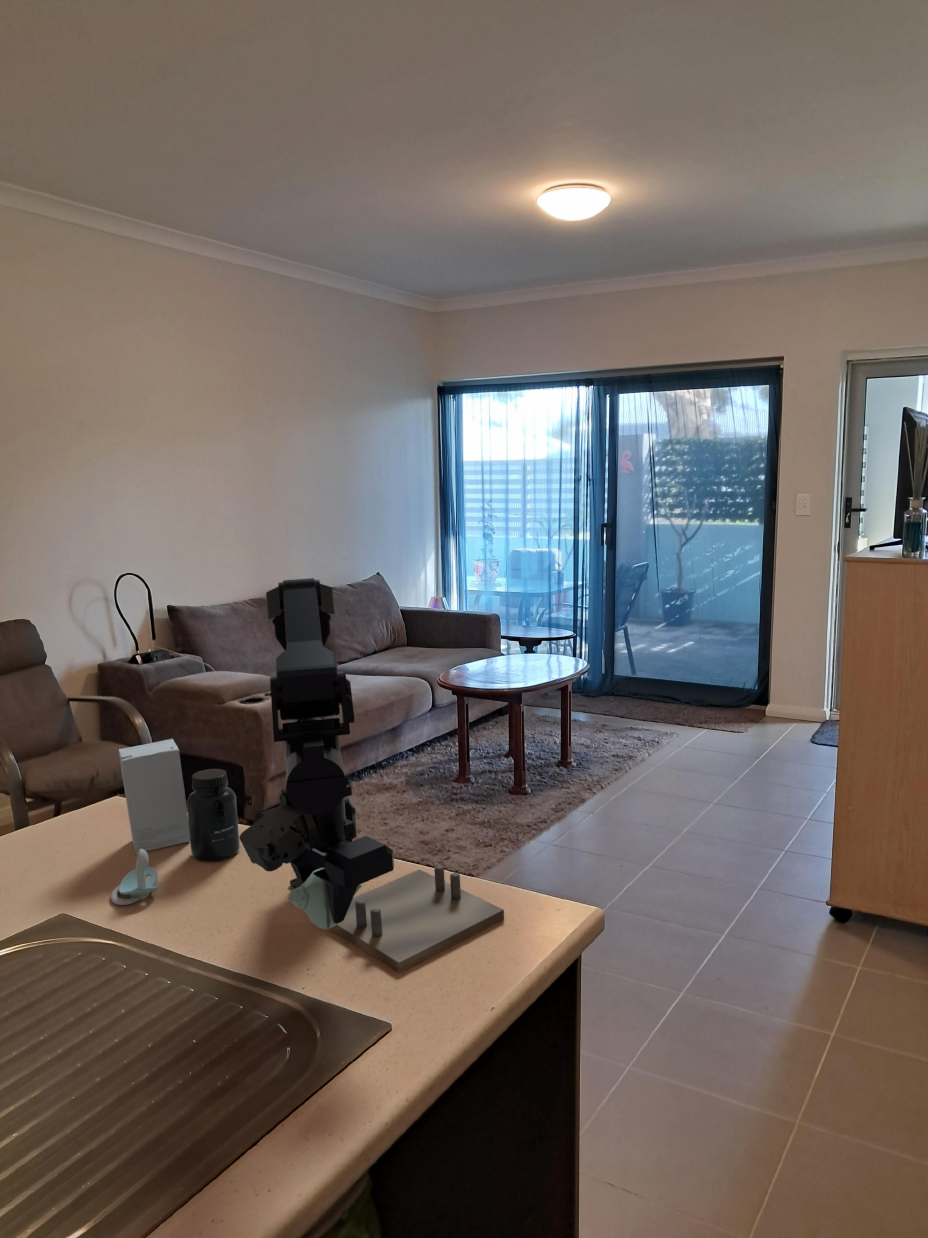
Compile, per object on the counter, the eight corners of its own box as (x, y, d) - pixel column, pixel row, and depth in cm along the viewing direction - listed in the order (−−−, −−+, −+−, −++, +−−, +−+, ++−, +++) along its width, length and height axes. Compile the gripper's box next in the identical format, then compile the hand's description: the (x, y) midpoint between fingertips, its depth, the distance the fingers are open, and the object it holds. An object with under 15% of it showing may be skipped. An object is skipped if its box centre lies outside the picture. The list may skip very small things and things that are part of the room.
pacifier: (109, 913, 119) (158, 903, 121) (102, 868, 118) (151, 858, 120) (113, 888, 126) (159, 879, 128) (105, 845, 125) (152, 836, 127)
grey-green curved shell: (292, 944, 100) (287, 884, 98) (288, 926, 103) (282, 869, 102) (366, 929, 102) (362, 870, 101) (359, 912, 106) (354, 856, 105)
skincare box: (186, 829, 144) (176, 737, 142) (191, 843, 139) (181, 748, 136) (128, 841, 141) (117, 746, 138) (132, 856, 136) (120, 758, 133)
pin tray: (318, 922, 114) (315, 890, 113) (419, 877, 125) (417, 848, 124) (399, 972, 102) (397, 937, 102) (504, 919, 113) (502, 886, 112)
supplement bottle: (227, 864, 131) (219, 783, 129) (183, 862, 133) (174, 782, 131) (248, 844, 138) (241, 766, 136) (205, 842, 139) (197, 765, 137)
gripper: (204, 779, 101) (218, 913, 104) (298, 826, 87) (310, 978, 90) (293, 753, 108) (303, 878, 111) (392, 792, 95) (401, 934, 97)
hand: (326, 914), depth 102 cm, fingers closed on grey-green curved shell, 4 cm apart
